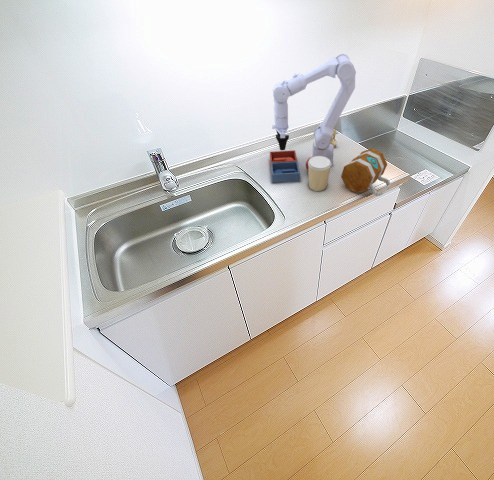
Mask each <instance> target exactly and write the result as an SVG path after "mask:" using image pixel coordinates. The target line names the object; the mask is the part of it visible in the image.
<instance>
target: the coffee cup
mask: <svg viewBox="0 0 494 480" xmlns="http://www.w3.org/2000/svg"><path fill="white" fill-rule="evenodd" d="M310 158H311V157H310ZM331 168H332V166H331V162H330V160H329V159H328V158H326V157H324V156H315V157H312V158H311V159H310V160H309V162H308V170H309V172H308V187H309V189H311V190H312V191H315V192H321V191H324V190H326V188H327V185H328V181H329V176H330V170H331Z"/></svg>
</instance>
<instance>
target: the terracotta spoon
mask: <svg viewBox="0 0 494 480" xmlns="http://www.w3.org/2000/svg"><path fill="white" fill-rule="evenodd" d="M292 160H293V158H291V157H286V158H274V162H275V161H292Z"/></svg>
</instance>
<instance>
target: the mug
mask: <svg viewBox="0 0 494 480" xmlns="http://www.w3.org/2000/svg"><path fill="white" fill-rule="evenodd" d="M387 166H388V162H387V160H386V158H385V155H384V153H383V152H381V151H379V150H377V149H374V148H373V147H371V148H368V149H366V150H363V151H361V152H360V153H359V155H357V156H355V157H354V158H353V159H352V160H351V161H350V162H348V163H347V164H345V165H344V166H343V168H342V171H341V175H340V178H341V180H342V182H343V184H344V186H345V188H346V189H348V190H350V191H352V192H353V193H356V194H359V193H362V192H366V191H368V189H369V190H370V191H371V193H372V194H373V195H374V196H376V197H380V196H382V195H384V193H385V192H387V191H388V190H389V189H390V188H391V185H392V183H391V181H390V180H389V179H388V178H386V177H382V176H383V175H384V173H385V170H386V169H387ZM377 180H378V181H380V182H383V183H385V185H386V187H385V188H383V189H382V190H381V191H380V192H379V191H377V190H376V187H374V185H373V184H375V183H376V182H377Z"/></svg>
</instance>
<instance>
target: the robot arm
mask: <svg viewBox="0 0 494 480" xmlns="http://www.w3.org/2000/svg"><path fill="white" fill-rule="evenodd" d="M356 74H357V71H356V68H355V65H354V63H353V62H352V61H351V60H350V57H349V56H348V54H345V53H341V54H338V55H336V56H334V57H331V58H330V59H328V60H327V61H325V62H323V63H322V64H320V65H319V66H317V67H315V68H314V69H312V70H310V71H308V72H306V73H304V74H302V73H293V74H292V77H289V78H288V79H283V80H281V81H280V82H277V83H275V84H274V86H273V89H272V92H273V93H272V94H273V117H274V124H272V125H271V129H272V130H275V131H276V134H275V139H276V140H277V143H278V147H279V151H286V147H287V143H288V140H289V139H290V134H286V133H287V132H288V130H289V104H288V99H289V97H293V96H294V95H296V94H298V93H300V92H302V91H304V90H306V88H307V85H309V84H311V83H314V82H316V81H317V80H320V79H322V78H324V77H330V78H333V79H336V76H337V78H338V79H339V82H340V87H339V89H338V92H337V94H336V95H335V97H334V99H333V101H332V103H331V106H330V107H329V109H328V111H327V113H326V115H325V117H324V119H323V121H322V122H320V124H319V125H318V127H316V128H315V129H314V131H313V137H314V142H313V144H312V155H311V156H312V157H315V156H324V157H326V158H328V159H329V160H330V162H331V167H332V166H333V161H334V160H333V159H334V152H335V151H334V148H333V145H332V144H330V139H331V137H332V132H333V130H334V128H335V126H336V124H337V123H338V121H339V119H340V117H341V115H342V113H343V111H344V109H345V108H346V107H347V104H348V102H349V100H350V98H351V96H352V94H353V93H354V91H355V89H356Z"/></svg>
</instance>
